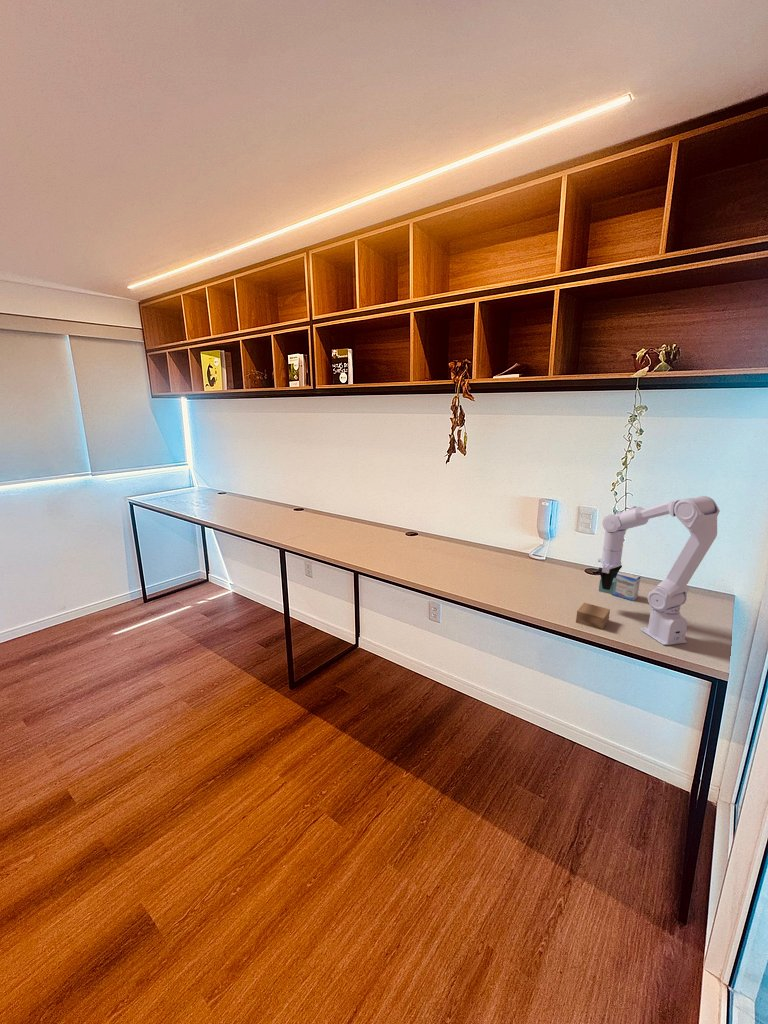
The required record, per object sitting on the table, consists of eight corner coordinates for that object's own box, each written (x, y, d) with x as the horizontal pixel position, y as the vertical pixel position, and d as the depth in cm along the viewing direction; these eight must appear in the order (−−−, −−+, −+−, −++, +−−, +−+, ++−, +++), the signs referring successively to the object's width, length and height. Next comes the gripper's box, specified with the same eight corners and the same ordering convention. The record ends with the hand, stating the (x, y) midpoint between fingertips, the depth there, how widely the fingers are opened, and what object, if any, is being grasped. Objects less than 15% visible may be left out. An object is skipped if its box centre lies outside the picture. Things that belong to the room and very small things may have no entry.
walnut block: (608, 620, 143) (609, 609, 142) (602, 629, 137) (603, 618, 136) (582, 613, 148) (584, 602, 147) (575, 622, 142) (577, 611, 141)
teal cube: (615, 590, 150) (617, 578, 149) (612, 594, 147) (614, 582, 146) (601, 587, 153) (603, 575, 152) (598, 591, 149) (600, 579, 148)
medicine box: (610, 595, 163) (613, 573, 161) (614, 591, 166) (617, 570, 164) (633, 601, 157) (637, 579, 155) (637, 597, 160) (640, 575, 158)
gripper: (605, 541, 154) (600, 577, 157) (594, 552, 143) (589, 590, 146) (627, 545, 150) (622, 582, 153) (617, 556, 139) (612, 596, 142)
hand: (607, 586), depth 149 cm, fingers closed on teal cube, 4 cm apart
